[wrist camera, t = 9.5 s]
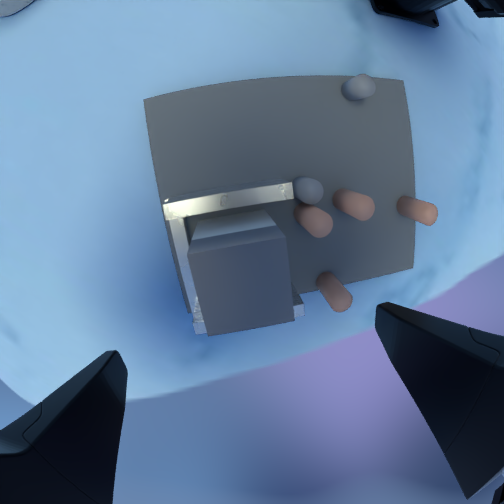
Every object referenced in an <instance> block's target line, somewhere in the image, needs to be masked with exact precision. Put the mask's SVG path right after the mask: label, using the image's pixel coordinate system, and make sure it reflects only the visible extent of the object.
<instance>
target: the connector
mask: <svg viewBox="0 0 504 504" xmlns="http://www.w3.org/2000/svg"><path fill="white" fill-rule="evenodd" d="M187 258H188V262H189V266H190V270H191V274H192V278H193V282H194V286H195V290H196V294H197V298H198V302H199V305H200V309H201V313H202V316H203V320H204V324H205V327H206V331H207V334H208V336H213V335H219V334H226V333H232V332H238V331H243V330H249V329H255V328H260V327H266V326H271V325H276V324H281V323H286V322H291V321H295V319H294V308H293V298H292V288H291V278H290V269H289V260H288V251H287V243H286V237H285V235H284V234H283V233H282V231H281V230H280V229H279V227H278V226H277V225H276V224H275V222H274V221H273V220H272V218H271V217H270V216H269V215H268V213H267V212H266V211H265V209H264V210H258V211H252V212H246V213H240V214H234V215H229V216H223V217H217V218H212V219H206V220H201V221H198V223H197V226H196V229H195V232H194V234H193V237H192V240H191V243H190V246H189V249H188V252H187Z"/></svg>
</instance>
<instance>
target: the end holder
mask: <svg viewBox="0 0 504 504" xmlns="http://www.w3.org/2000/svg"><path fill="white" fill-rule="evenodd" d="M287 199H294V195H293V186H292V182H289V181H287V180H284V179H282V178H276V179H269V180H262V181H255V182H249V183H243V184H236V185H230V186H224V187H219V188H213V189H208V190H202V191H197V192H192V193H186V194H181V195H176V196H172V197H168V198H166V199H165V203H164V204H163V209H164V213H165V218H166V220H169V223H170V227H171V232H172V236H173V240H174V245H175V249H176V253H177V257H178V261H179V265H180V269H181V273H182V277H183V281H184V285H185V289H186V292H187V296H188V300H189V303H190V307H191V311H192V314H193V327H194V330H195V333H196V335H197V334H204V333H207V331H206V327H205V324H204V320H203V316H202V313H201V309H200V305H199V302H198V298H197V294H196V290H195V286H194V282H193V278H192V274H191V270H190V266H189V262H188V258H187V252H188V249H189V246H190V243H191V242H190V237H189V232H188V228H187V223H186V218H185V217H186V216H191V215H197V214H202V213H208V212H213V211H219V210H224V209H230V208H236V207H242V206H248V205H254V204H261V203H267V202H274V201H280V200H287ZM291 288H292V298H293V308H294V318H295V317H300V316H305V312H304V303H303V301H302V299H301V298H300V296H299V294H298V292H297V290H296V288H295V286H294V285H293V283H292V282H291Z"/></svg>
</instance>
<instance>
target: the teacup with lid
mask: <svg viewBox="0 0 504 504" xmlns="http://www.w3.org/2000/svg"><path fill="white" fill-rule="evenodd" d="M33 1H34V0H0V17H4V16H9V15H11V14H14V13H16V12H18V11H20V10H21V9H23V8H24V7H26V6H27V5H29V4H30V3H31V2H33Z"/></svg>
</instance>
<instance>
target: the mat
mask: <svg viewBox="0 0 504 504" xmlns="http://www.w3.org/2000/svg"><path fill="white" fill-rule="evenodd" d="M354 77H356V76H287V77H272V78H260V79H250V80H241V81H233V82H226V83H219V84H213V85H207V86H201V87H196V88H191V89H186V90H181V91H176V92H172V93H167V94H163V95H159V96H155V97H151V98H147V99H144V107H145V115H146V122H147V129H148V135H149V142H150V148H151V154H152V160H153V165H154V171H155V176H156V182H157V187H158V192H159V197H160V202H161V207H162V211H163V216H164V220H165V225H166V229H167V234H168V238H169V242H170V247H171V251H172V255H173V259H174V263H175V267H176V271H177V275H178V278H179V282H180V286H181V290H182V293H183V297H184V300H185V304H186V307H187V311H188V313H192V311H191V307H190V303H189V300H188V296H187V292H186V289H185V285H184V281H183V277H182V273H181V269H180V265H179V261H178V257H177V253H176V249H175V245H174V240H173V236H172V232H171V227H170V223H169V220H166V218H165V213H164V209H163V204H164V203H165V199H166V198H168V197H172V196H176V195H181V194H186V193H192V192H197V191H202V190H208V189H213V188H219V187H224V186H230V185H236V184H243V183H249V182H255V181H262V180H269V179H276V178H282V179H284V180H287V181H289V182H292V181H293V180H294V179H295V178H296V177H299V176H305V177H308V178H312V179H315V180H317V181H319V182H320V183H321V184H322V186H323V191H324V192H323V197H322V199H321V200H320V201H319V202H318V203H316V204H312V205H314V206H316V207H317V208H319V209H321V210H323V211H324V212H326V213H328V214H329V215H330V216H331V218H332V220H333V227H332V230H331V232H330V233H329V234H328V235H327V236H325V237H322V238H317V237H314V236H313V235H311V234H310V233H309V232H308V231H307V230H306V229H305V228H304V227H303V226H302V225H300V224H299V223H298V222H297V221H296V220H295V218H294V210H295V208H296V206H297V205H298V204H300V203H302V202H303V201H301V200H299V199H298V198H296V197H294V199H287V200H280V201H274V202H267V203H261V204H254V205H248V206H242V207H236V208H230V209H224V210H219V211H213V212H208V213H202V214H197V215H191V216H186V217H185V218H186V223H187V228H188V232H189V237H190V242H191V240H192V237H193V234H194V232H195V229H196V226H197V223H198V221H201V220H206V219H212V218H217V217H223V216H229V215H234V214H240V213H246V212H252V211H258V210H264V209H265V211H266V212H267V213H268V215H269V216H270V217H271V218H272V220H273V221H274V222H275V224H276V225H277V226H278V227H279V229H280V230H281V231H282V233H283V234H284V235H285V237H286V243H287V251H288V260H289V269H290V278H291V282H292V283H293V285H294V286H295V288H296V290H297V292H298V294H302V293H307V292H312V291H316V290H319V289H318V287H317V285H316V280H317V278H318V276H319V275H320V274H321V273H323V272H331V273H332V274H334V276H335V277H336V278H337V279H338V280H339V281H340V282H341V284H342V285H344V284H349V283H353V282H358V281H362V280H366V279H371V278H375V277H379V276H383V275H387V274H391V273H395V272H399V271H403V270H407V269H411V268H413V263H414V247H415V220H413V219H411V218H408V217H406V216H403V215H401V214H400V213H399V212H398V211H397V202H398V200H399V198H400V197H402V196H409V197H412V198H415V174H414V158H413V146H412V136H411V127H410V119H409V112H408V105H407V99H406V93H405V88H404V82H403V80H394V79H385V78H373V77H371V78H372V79H373V81H374V83H375V86H376V90H375V93H374V94H373V95H371V96H369V97H365V98H362V99H359V100H357V101H349V100H347V99H346V98H345V97H344V96H343V95H342V92H341V86H342V84H343V83H344V82H346V81H348V80H350V79H352V78H354ZM342 188H344V189H348V190H351V191H354V192H357V193H360V194H363V195H366V196H369V197H370V198H371V199H372V200H373V202H374V204H375V210H374V213H373V215H372V217H371V218H370V219H368V220H366V221H360V220H358V219H356V218H354V217H352V216H350V215H348V214H346V213H344V212H342V211H341V210H339V209H337V208H336V207H335V206H334V205H333V201H332V199H333V195H334V193H335V192H336V191H337V190H338V189H342Z"/></svg>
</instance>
